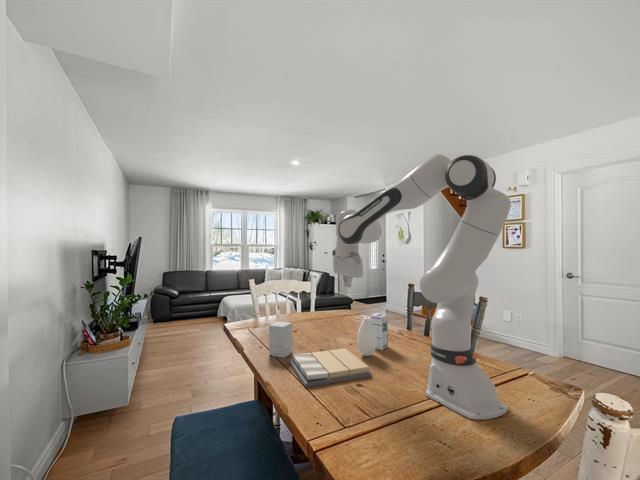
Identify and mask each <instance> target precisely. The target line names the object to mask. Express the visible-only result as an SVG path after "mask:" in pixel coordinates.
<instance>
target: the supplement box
mask: <svg viewBox="0 0 640 480" xmlns="http://www.w3.org/2000/svg"><path fill="white" fill-rule="evenodd" d="M268 337H269V338H268V341H269V342H268V345H269V347H268V351H269V353H268V354H269V355H272V356H271V357H277V358H286V357H288V356H289V355H291V354H293V323H292V322H287V321H276V322H274V323H272V324H269V325H268ZM290 353H291V354H290ZM269 355H268V356H269Z"/></svg>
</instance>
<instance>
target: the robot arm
mask: <svg viewBox="0 0 640 480" xmlns="http://www.w3.org/2000/svg"><path fill="white" fill-rule="evenodd" d="M496 180H497V176H496V172H495V170H494V169H493V168H492V166H490V163H488V162H487V161H485V160H484V159H482V158H480V157H479V156H476V155H470V154H466V155H465V154H464V155H460V156H458V157H455V158H454V159H453V160H451V159H450V158H449V157H448V156H446V155H444V154H438V153H437V154H434V155H432V156H431V157H429V158H428V159H426V160H424V161H423V162H421V163H419V165H417V166H416V167H415V168H413V169H412V170H411V171H410V172H409V173H407V175H405V176H404V177H403V178H401V179H400V180H399V181H398V182H397V183H396V184H394V185H392V186H391V187H390V188H388V189H387V190H385V191H384V192H382V193H380V194H379V195H378V196H376V197H375V198H373V199H372V200H371V201H370V202H368V203H367V204H366V205H364V206H363V207H362V208H361V209H359V210H358V211H356V210H354V209H347V210H343V211H341V212H339V213H338V214H337V217H336V224H335V226H336V227H335V231H336V232H335V234H336V243H335V248H334V249H333V250H332V251H331V252H332V254H331V255H332V262H333V263H332V266H333V268H332V269H333V273H335V274H337V275H341V276H342V282H343V286H344V287H345V288H352V281H353V279H354V278H355V279H356V278H357V279H358V278H362V277H363V276H364V268H363V267H364V265H363V260H362V258H361V255H360V254H359V251H360V250H359V246H360V245H359V244H363V245H364V244H372V243H375V242H377V241H378V240H380V238H381V234H382V226H381V224H380V223H379V220H380V219H381V218H382V217H384V216H386V215H388V214H389V213H393V212H397V211H404V210H405V211H406V210H413V209H416V208H419V207H421V206H422V205H424V204H426V203H427V202H428V201H430V200H431V199H432V198H434V197H435V196H437V194H439V193H440V192H442V191H443V190H445V189H447V188H449V189H450V190H451V191H452V192H454V193H455V194H456V195H458V196H459V197H460V198H461V199H462V200H464V201H466V208H465V211H464V212H463V215H461V218H460V220H459V222H458V225H457V226H456V229H455V230H454V232H453V233H452V236H451V239H449V242H448V243H447V246H446V247H445V248H444V249H443V251H442V252H441V254H440V255H439V256H438V257H437V259H436V260H435V262H434V263H433V264H432V265H431V267H430V268H429V269H428V270H427V271H426V272H425V273H424V274H423V275H422V276H421V278H420V281H419V290H420V293H421V294H422V296H423V297H424V298H425V299H426V300H427V301H429V302H431V303H433V304H434V303H435V304H436V309H435V311H434V314H433V315H432V319H431V343H430V349H429V350H430V355H431V362H430V365H429V372H428V382H427V385H426V388H427V389H426V390H425V396H426V397H428V398H430V399H431V400H433V401H435V402H437V403H439V402H440V403H439V404H440V405H442V406H445V407H447V408H449V409H450V410H452V411H454V412H456V413H458V414H460V415H461V416H464V417H465V418H467V419H469V420H470V419H471V420H482V421H483V420H491V419H495V418H498V417H502V416H503V415H505V414H506V413H507V412H508V406H507V404H505V403H504V402H503V401H501V400H499V399H498V393H497V392H498V391H497V389H496V386H495V383H493V381H492V380H491V379H490V377H489V376H487V374H486V373H485V372H484V371H483V370H482V368H481V367H480V366H479V364H477V360H476V359H479V357H478V356H479V354H474V350H473V348H472V346H471V345H472V344H471V342H472V341H471V340H472V338H471V337H472V336H471V334H472V333H471V331H472V329H471V328H472V327H471V326H472V325H471V323H472V316H473V310H474V304H475V297H476V292H477V290H478V288H479V277H478V275H477V273H476V271H477V270H478V269H479V267H481V265H482V264H483V263H484V262H485V261H486V260H487V259H488V257H489V255H490V253H491V251H492V249H493V247H494V246H495V244H496V242H497V240H498V238H499V236H500V234H501V232H502V231H503V229H504V226H505V224H506V221H507V219H508V216H509V215H510V210H511V206H512V203H511V199H510V198H509V197H508V195H507V194H505V193H503V192H502V191H499V190H497V189H495V188H494V186H495V185H496Z"/></svg>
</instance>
